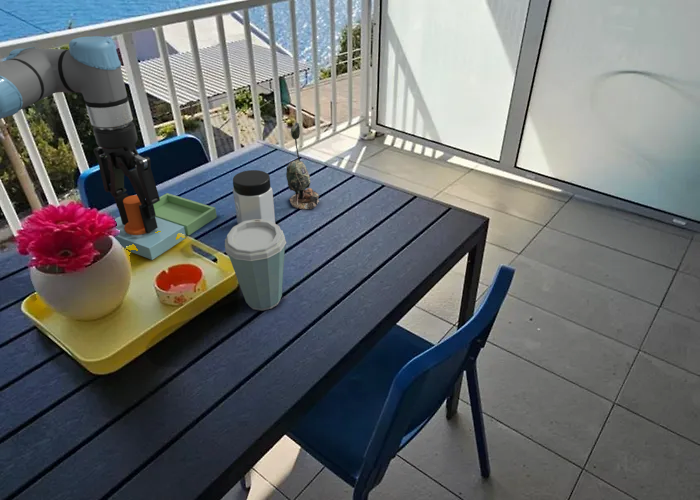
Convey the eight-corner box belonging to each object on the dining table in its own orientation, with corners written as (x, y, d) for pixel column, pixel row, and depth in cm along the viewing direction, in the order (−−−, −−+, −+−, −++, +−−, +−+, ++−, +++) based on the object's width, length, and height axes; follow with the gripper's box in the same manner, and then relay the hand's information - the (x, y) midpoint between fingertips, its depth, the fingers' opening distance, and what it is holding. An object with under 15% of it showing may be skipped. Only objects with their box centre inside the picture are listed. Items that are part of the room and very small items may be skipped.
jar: (233, 219, 119) (227, 173, 112) (266, 211, 122) (261, 166, 115) (245, 237, 112) (239, 189, 105) (279, 228, 115) (275, 181, 109)
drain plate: (100, 240, 111) (96, 228, 109) (135, 220, 118) (132, 209, 116) (152, 260, 104) (149, 248, 103) (186, 237, 112) (184, 226, 110)
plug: (121, 242, 110) (110, 202, 105) (144, 228, 115) (134, 189, 109) (142, 249, 108) (131, 209, 102) (164, 236, 112) (155, 196, 107)
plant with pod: (277, 210, 123) (271, 131, 112) (299, 190, 131) (295, 116, 120) (307, 216, 120) (303, 137, 109) (327, 196, 129) (326, 121, 118)
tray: (139, 218, 119) (136, 209, 117) (169, 202, 126) (167, 192, 124) (188, 235, 112) (186, 225, 111) (217, 217, 120) (215, 207, 118)
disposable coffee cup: (288, 318, 90) (282, 249, 81) (228, 319, 89) (216, 249, 81) (292, 282, 98) (288, 216, 90) (238, 283, 98) (228, 217, 90)
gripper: (164, 126, 95) (185, 229, 108) (95, 110, 103) (122, 208, 116) (133, 139, 90) (159, 245, 103) (63, 121, 97) (95, 222, 110)
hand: (140, 225), depth 109 cm, fingers closed on plug, 6 cm apart
